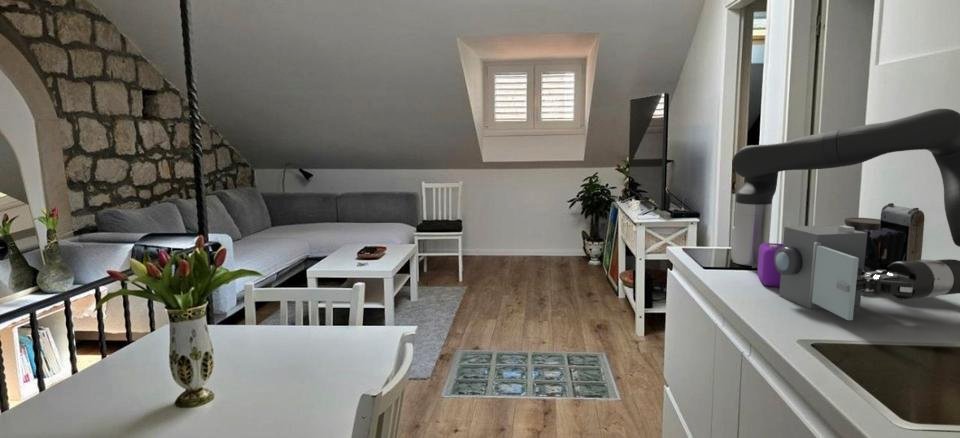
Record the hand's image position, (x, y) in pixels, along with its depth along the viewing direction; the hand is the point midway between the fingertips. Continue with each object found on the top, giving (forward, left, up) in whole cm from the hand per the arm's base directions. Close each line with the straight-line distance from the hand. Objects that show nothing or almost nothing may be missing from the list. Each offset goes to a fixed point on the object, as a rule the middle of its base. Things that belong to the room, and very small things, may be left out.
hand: (844, 284), depth 113 cm
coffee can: (-35, +37, -8) cm, 52 cm away
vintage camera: (-22, +28, -8) cm, 37 cm away
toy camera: (-31, +9, -8) cm, 33 cm away
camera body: (-15, +6, -8) cm, 18 cm away
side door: (-3, 0, -6) cm, 7 cm away
